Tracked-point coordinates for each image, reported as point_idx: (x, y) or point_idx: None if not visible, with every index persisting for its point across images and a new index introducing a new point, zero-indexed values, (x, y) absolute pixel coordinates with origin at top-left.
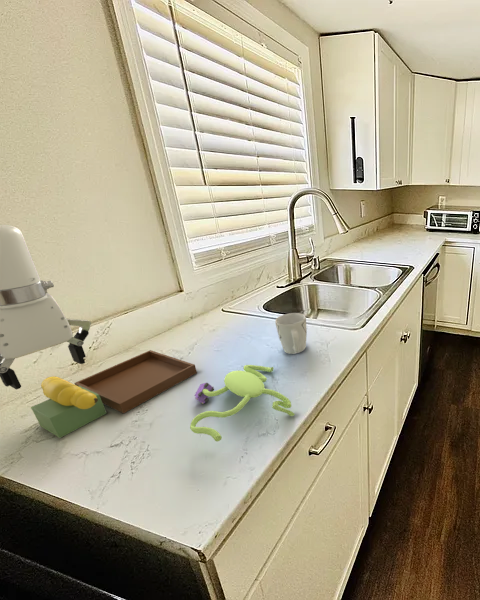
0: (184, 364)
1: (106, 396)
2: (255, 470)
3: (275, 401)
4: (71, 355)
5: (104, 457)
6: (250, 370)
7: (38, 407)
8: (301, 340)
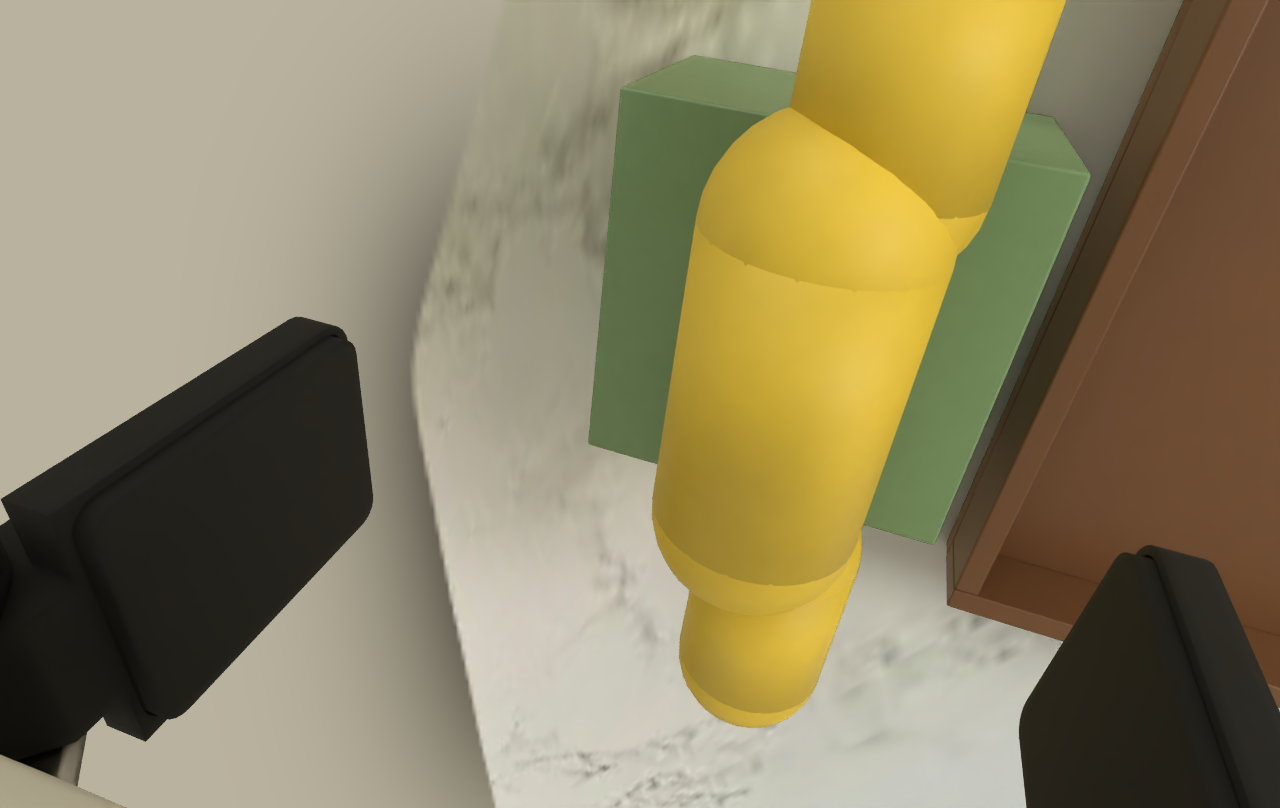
0: None
1: (1046, 425)
2: None
3: None
4: (1157, 648)
5: (634, 676)
6: None
7: (642, 178)
8: None
